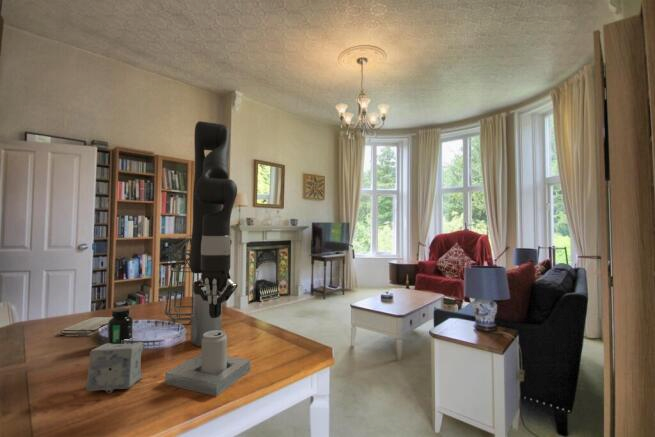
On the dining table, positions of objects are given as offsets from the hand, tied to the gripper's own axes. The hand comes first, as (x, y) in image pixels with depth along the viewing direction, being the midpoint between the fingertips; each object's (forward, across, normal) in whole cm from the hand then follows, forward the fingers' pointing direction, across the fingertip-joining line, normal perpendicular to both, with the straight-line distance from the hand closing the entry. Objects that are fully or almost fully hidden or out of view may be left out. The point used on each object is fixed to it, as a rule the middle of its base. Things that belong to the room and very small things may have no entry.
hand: (215, 317), depth 84 cm
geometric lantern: (+16, -42, +35) cm, 57 cm away
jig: (+16, -2, 0) cm, 16 cm away
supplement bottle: (+16, -44, +7) cm, 48 cm away
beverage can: (+16, 0, 0) cm, 17 cm away
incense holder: (+16, -21, -12) cm, 29 cm away
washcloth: (+17, -70, +15) cm, 74 cm away
